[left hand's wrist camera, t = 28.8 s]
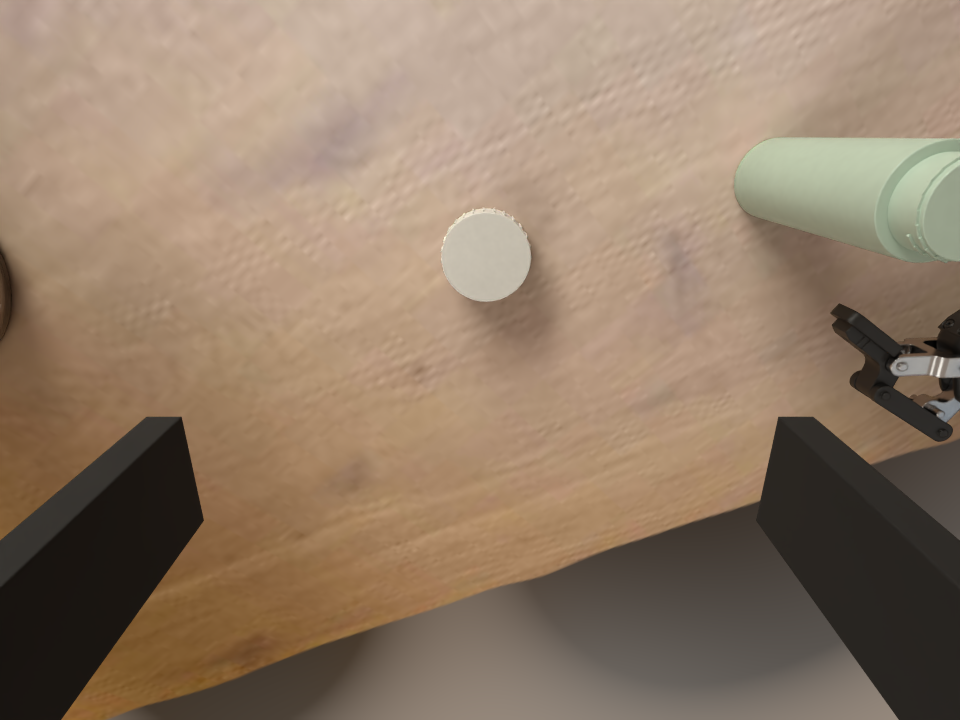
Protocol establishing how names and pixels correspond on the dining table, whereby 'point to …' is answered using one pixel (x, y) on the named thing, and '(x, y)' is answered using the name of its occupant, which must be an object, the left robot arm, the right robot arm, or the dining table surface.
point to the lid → (486, 255)
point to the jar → (860, 192)
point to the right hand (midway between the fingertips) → (900, 250)
